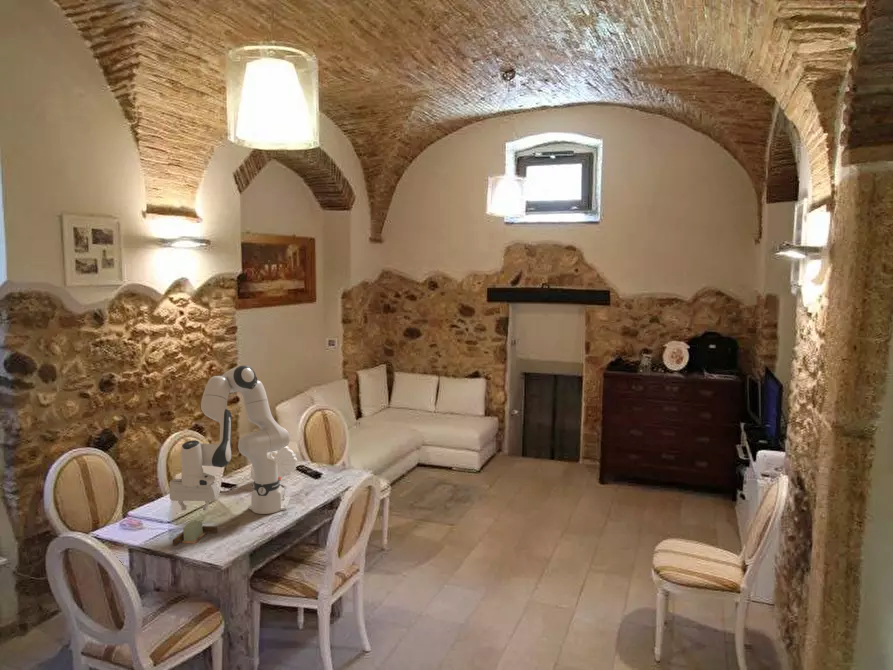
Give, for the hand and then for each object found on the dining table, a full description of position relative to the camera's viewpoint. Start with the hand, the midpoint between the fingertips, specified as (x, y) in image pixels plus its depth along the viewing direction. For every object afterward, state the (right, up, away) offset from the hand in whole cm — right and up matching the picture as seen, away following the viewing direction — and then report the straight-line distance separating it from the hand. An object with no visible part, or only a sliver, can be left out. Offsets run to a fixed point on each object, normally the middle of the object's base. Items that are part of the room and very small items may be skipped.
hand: (194, 509), depth 280 cm
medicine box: (+18, -2, +95) cm, 97 cm away
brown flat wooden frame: (0, -13, +2) cm, 13 cm away
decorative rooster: (+15, -5, +71) cm, 73 cm away
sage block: (-2, -13, +2) cm, 13 cm away
